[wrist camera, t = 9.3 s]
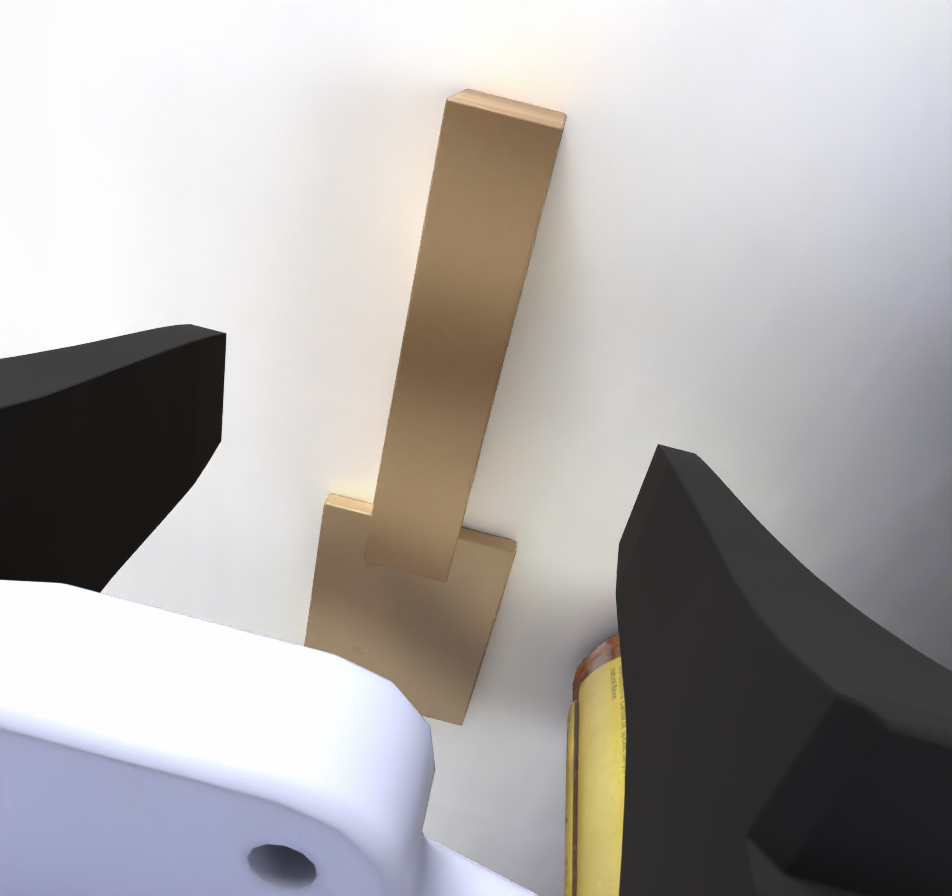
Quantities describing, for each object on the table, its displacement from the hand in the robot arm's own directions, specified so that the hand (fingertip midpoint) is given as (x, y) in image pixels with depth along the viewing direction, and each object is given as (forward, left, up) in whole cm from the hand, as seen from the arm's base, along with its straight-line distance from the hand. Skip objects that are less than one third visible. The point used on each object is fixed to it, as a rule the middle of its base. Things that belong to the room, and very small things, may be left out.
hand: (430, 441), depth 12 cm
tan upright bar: (0, +5, -8) cm, 10 cm away
